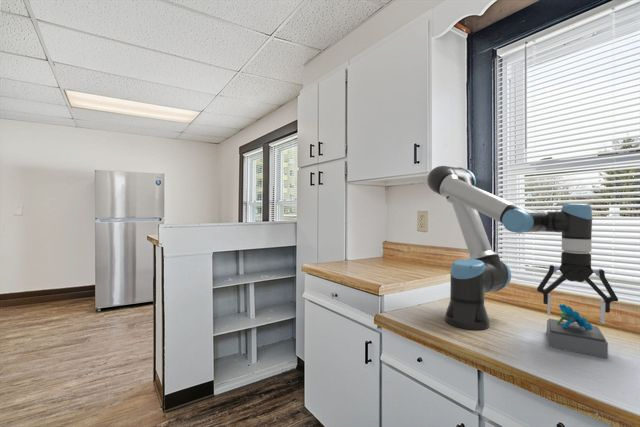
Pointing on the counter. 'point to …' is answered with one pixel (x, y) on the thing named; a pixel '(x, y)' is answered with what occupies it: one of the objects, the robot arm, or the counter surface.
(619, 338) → the counter surface
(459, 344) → the counter surface
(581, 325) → the teal branching figurine
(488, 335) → the counter surface
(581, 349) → the stand
